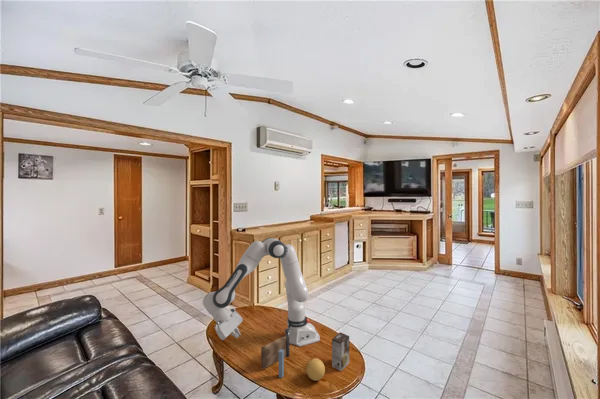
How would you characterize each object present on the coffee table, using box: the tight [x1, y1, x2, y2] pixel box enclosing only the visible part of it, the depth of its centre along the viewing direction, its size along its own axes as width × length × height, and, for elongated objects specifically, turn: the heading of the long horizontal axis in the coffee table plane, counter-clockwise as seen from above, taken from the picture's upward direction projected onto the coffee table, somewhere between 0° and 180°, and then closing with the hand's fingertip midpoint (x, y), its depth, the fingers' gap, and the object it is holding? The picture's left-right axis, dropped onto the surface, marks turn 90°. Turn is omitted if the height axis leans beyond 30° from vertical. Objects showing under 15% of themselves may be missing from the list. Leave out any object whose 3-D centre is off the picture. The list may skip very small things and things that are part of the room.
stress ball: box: [305, 357, 326, 381], centre depth 143 cm, size 10×10×10 cm
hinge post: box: [284, 327, 290, 358], centre depth 163 cm, size 3×3×16 cm
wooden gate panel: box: [260, 335, 286, 370], centre depth 156 cm, size 17×2×11 cm, turn 134°
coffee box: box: [331, 332, 350, 372], centre depth 154 cm, size 9×6×16 cm
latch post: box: [278, 349, 285, 379], centre depth 145 cm, size 2×2×14 cm
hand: (238, 336), depth 156 cm, fingers closed
